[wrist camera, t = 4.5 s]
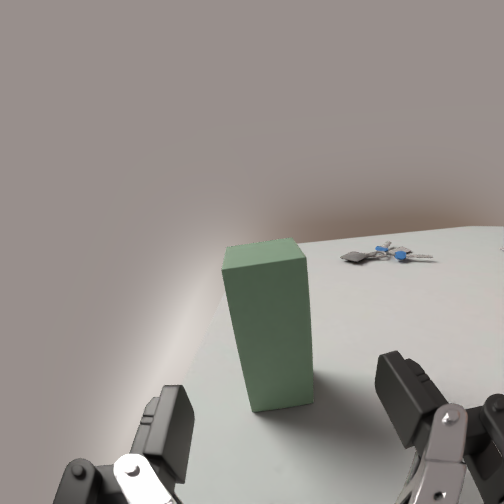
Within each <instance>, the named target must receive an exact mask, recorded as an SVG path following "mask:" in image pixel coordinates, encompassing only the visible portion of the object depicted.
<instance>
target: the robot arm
mask: <svg viewBox="0 0 504 504" xmlns="http://www.w3.org/2000/svg"><path fill="white" fill-rule="evenodd" d="M375 389H376V393H377V395H378V397H379V399H380V401H381V403H382V405H383V406H384V408H385V410H386V412H387V414H388V416H389V418H390V420H391V422H392V424H393V426H394V428H395V430H396V432H397V434H398V436H399V438H400V440H401V442H402V444H403V446H404V448H405V449H407V448H410V447H412V446H415V448H416V450H417V451H416V452H415V455H414V458H413V461H412V464H411V467H410V470H409V473H408V476H407V478H406V481H405V484H404V486H403V489H402V491H401V493H400V495H399V497H398V498H397V500H396V502H395V504H458V502H459V498H460V494H461V490H462V486H463V482H464V477H465V473H466V465H467V467H468V469H469V471H470V473H471V475H472V477H473V479H474V481H475V484H476V486H477V488H478V490H479V492H480V495H481V497H482V499H483V502H484V504H504V395H503V394H494V395H491V396H490V397H488V398H487V400H486V401H485V403H484V405H483V406H479V407H475V408H470V409H464V408H463V407H462V406H460V405H458V404H452V403H450V404H449V403H448V402H447V400H446V399H445V398H444V396H443V395H442V394H441V392H440V391H439V390H438V388H437V387H436V386H435V384H434V383H433V382H432V380H430V378H429V377H428V375H427V374H425V371H424V370H423V369H422V368H421V366H420V365H419V364H418V363H416V362H414V361H413V360H411V359H406V360H404V358H403V357H402V356H401V354H400V353H399V352H398V351H392V352H389V353H386V354H382V355H380V356H379V358H378V364H377V371H376V377H375ZM194 420H195V418H194V411H193V408H192V405H191V403H190V401H189V398H188V396H187V393H186V391H185V389H184V387H183V385H165V386H164V387H163V388H162V391H161V394H160V397H153V399H152V400H151V401H150V402H149V403H148V404H147V405H146V407H145V410H144V413H143V417H142V419H141V421H140V425H139V427H138V430H137V433H136V436H135V439H134V441H133V444H132V447H131V450H130V453H129V454H128V455H125V456H122V457H121V458H119V459H118V461H117V462H116V463H115V464H113V465H103V466H94V465H93V464H92V463H91V462H90V461H88V460H86V459H75V460H73V461H71V462H70V463H69V464H68V465H67V467H66V469H65V471H64V473H63V476H62V479H61V482H60V484H59V487H58V490H57V493H56V496H55V499H54V501H53V504H183V502H182V501H181V500H180V498H179V497H178V495H177V494H176V493H175V491H174V488H175V483H180V484H185V478H186V471H187V464H188V458H189V452H190V446H191V439H192V433H193V427H194ZM494 443H495V444H494ZM495 445H496V446H495ZM497 448H498V449H497ZM498 450H499V451H498ZM499 452H500V453H501V454H500V453H499ZM501 455H502V456H501ZM462 458H463V459H464V461H465V462H462Z"/></svg>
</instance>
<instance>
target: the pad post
mask: <svg viewBox="0 0 504 504" xmlns="http://www.w3.org/2000/svg"><path fill="white" fill-rule="evenodd" d="M222 275H223V280H224V285H225V291H226V296H227V301H228V306H229V311H230V315H231V320H232V325H233V330H234V334H235V339H236V344H237V348H238V353H239V357H240V362H241V366H242V371H243V375H244V380H245V384H246V388H247V392H248V397H249V401H250V405H251V409H252V412H258V411H267V410H274V409H281V408H287V407H293V406H299V405H305V404H310V403H313V357H312V334H311V315H310V299H309V285H308V272H307V260H306V256H305V255H304V254H303V252H302V251H301V249H300V248H299V247H298V245H297V244H296V243H295V241H294V240H293V238H286V239H279V240H272V241H265V242H259V243H252V244H245V245H239V246H231V247H227V248H226V252H225V257H224V261H223V266H222Z"/></svg>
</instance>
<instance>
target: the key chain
mask: <svg viewBox="0 0 504 504" xmlns="http://www.w3.org/2000/svg"><path fill="white" fill-rule="evenodd" d="M390 244H391V242H390V241H387V242H386V243H385V244H384V245H382V246H377V247H376V248H375V249H376V250H377V251H376V252H372V253H359V252H350V253H348V254H346V255H344V256H341V257H340V258H342V259H346V260H351V261H355V262H358V261H360V260H362V259H364V258H368V257H377V258H382V257H385V256H395V258H396V259H400V260H402V259H405V258H406V257H417V258H433V257H432V256H427V255H409V254H406V253H407V252H410V251H411V250H409V249H407V248H404V247H399V248H396V249H393V250H389V251H388V246H390ZM386 251H388V252H390V253H386ZM376 253H381V254H380V255H376ZM382 254H384V255H382ZM387 254H394V255H387Z"/></svg>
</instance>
